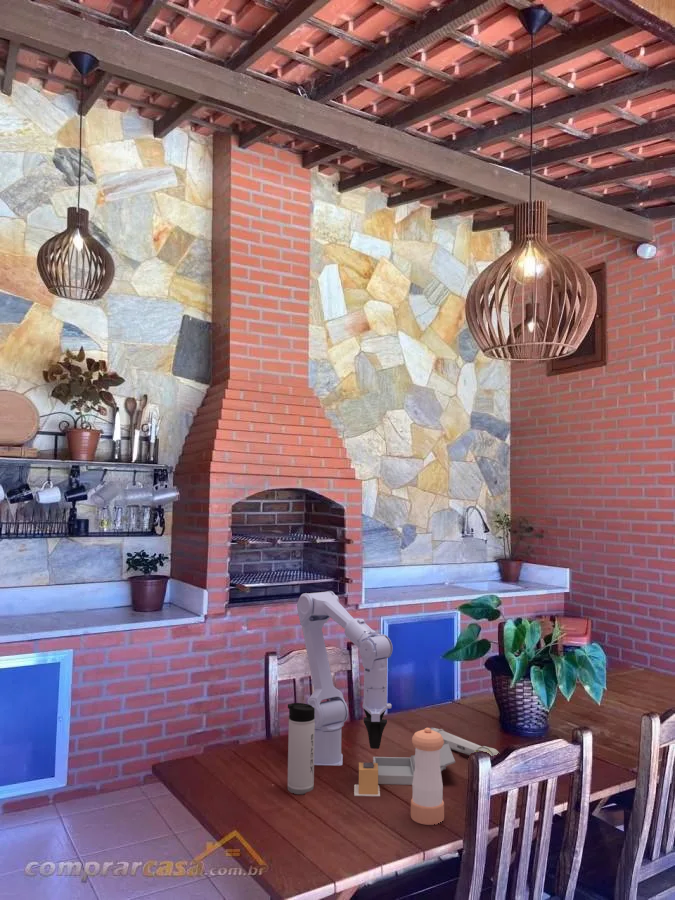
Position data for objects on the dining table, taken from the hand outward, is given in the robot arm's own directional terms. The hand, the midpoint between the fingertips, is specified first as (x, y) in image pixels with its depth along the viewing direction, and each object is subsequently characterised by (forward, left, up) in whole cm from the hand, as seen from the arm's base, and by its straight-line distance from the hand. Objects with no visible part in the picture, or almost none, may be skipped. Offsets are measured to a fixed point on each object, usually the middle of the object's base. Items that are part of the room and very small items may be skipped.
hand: (374, 742), depth 171 cm
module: (-2, -5, -9) cm, 11 cm away
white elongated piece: (+22, +19, -8) cm, 30 cm away
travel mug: (-18, -4, -10) cm, 21 cm away
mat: (-2, -5, -10) cm, 11 cm away
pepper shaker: (+11, -17, -10) cm, 23 cm away
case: (+10, +5, -10) cm, 15 cm away
